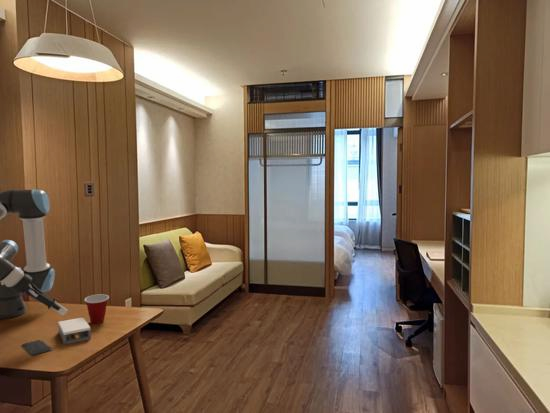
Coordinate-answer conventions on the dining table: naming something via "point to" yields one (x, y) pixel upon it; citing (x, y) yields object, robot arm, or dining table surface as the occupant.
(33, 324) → the dining table surface
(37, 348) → the smartphone
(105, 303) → the plastic cup
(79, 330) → the block
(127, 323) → the dining table surface
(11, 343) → the dining table surface
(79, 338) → the cable duct
